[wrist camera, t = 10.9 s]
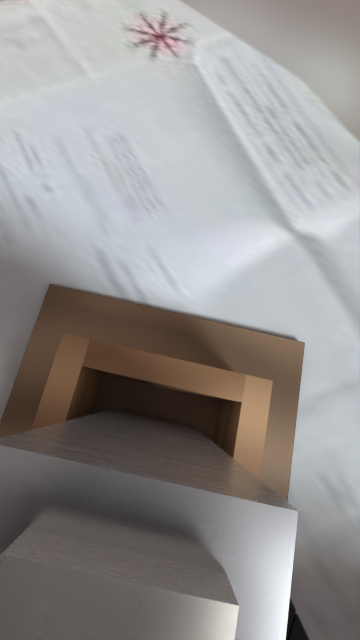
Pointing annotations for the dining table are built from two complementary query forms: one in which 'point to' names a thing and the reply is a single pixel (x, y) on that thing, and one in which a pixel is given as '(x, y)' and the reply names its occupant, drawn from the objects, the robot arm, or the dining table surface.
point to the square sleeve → (161, 376)
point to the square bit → (138, 535)
